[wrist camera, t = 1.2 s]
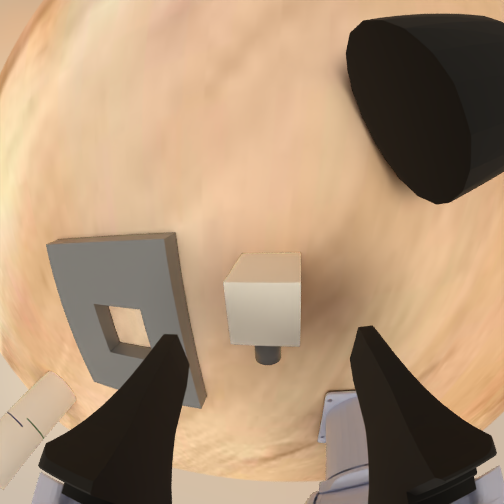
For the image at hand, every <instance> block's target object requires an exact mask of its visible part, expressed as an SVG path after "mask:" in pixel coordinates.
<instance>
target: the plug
mask: <svg viewBox="0 0 504 504" xmlns="http://www.w3.org/2000/svg"><path fill="white" fill-rule="evenodd" d="M223 285H224V294H225V302H226V310H227V318H228V326H229V334H230V342H231V344H236V345H255V357H256V361H257V362H258V363H260V364H263V365H272V364H275V363H277V362H279V361H280V359H281V346H296V347H300V323H301V252H298V253H242V254H241V256H240V257H239V259H238V260H237V262H236V263H235V265H234V266H233V268H232V269H231V271H230V273H229V274H228V276H227V277H226V279H225V280H224V282H223Z"/></svg>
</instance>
